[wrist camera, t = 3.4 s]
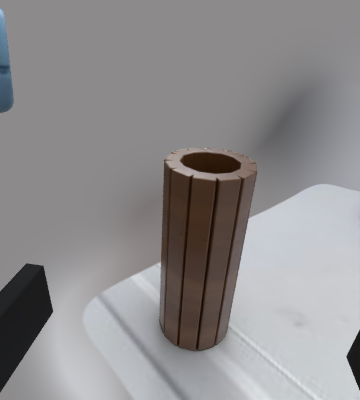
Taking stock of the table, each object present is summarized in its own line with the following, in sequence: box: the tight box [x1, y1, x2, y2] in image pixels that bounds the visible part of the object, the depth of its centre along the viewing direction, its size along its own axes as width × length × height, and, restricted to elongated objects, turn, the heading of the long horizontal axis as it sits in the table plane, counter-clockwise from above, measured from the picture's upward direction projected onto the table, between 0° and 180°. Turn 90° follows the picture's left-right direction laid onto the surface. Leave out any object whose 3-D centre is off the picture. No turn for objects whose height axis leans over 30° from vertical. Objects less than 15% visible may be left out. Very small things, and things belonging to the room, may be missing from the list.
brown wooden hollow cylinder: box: [159, 148, 257, 351], centre depth 21 cm, size 6×6×14 cm
